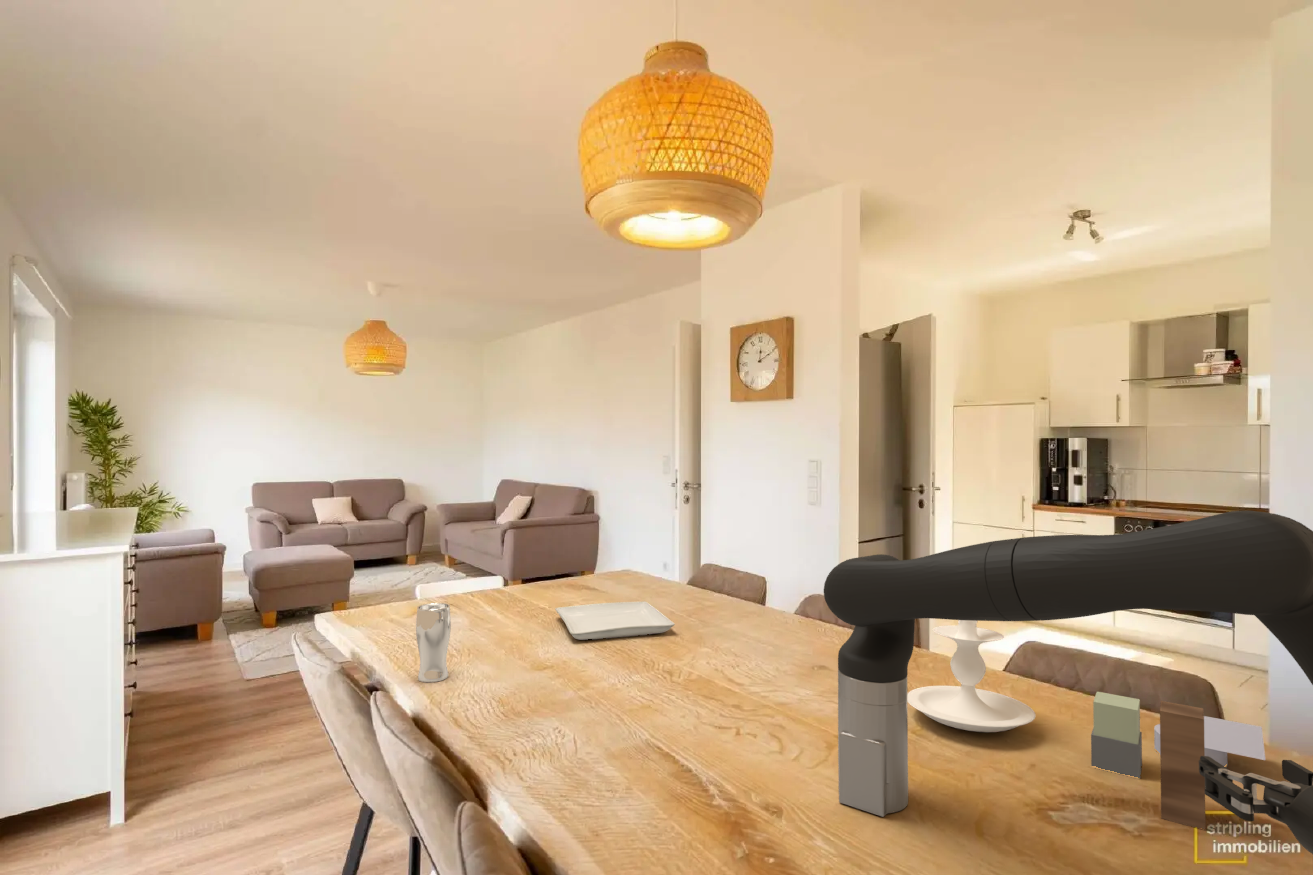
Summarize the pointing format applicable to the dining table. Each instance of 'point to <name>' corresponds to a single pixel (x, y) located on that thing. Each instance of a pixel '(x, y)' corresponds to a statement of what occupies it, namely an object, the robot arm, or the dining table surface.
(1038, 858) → the dining table surface
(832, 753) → the dining table surface
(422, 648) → the beer glass
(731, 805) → the dining table surface
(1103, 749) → the tower base
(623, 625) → the square plate
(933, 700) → the candlestick
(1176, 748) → the walnut pillar
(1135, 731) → the tower top
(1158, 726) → the wedge on round base
